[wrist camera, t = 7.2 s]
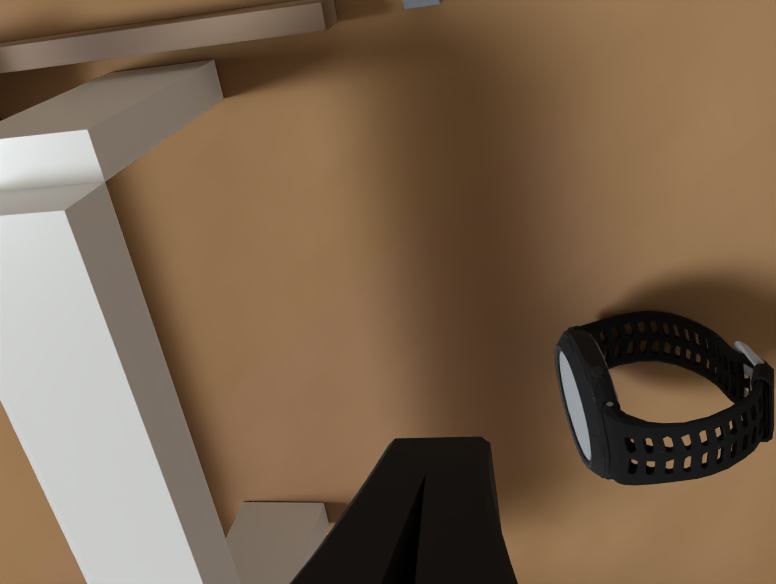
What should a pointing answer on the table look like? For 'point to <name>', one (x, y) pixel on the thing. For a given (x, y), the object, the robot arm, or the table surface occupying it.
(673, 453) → the smartwatch
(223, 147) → the table surface
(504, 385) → the table surface
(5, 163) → the clamp arch
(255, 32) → the track
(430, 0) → the frame
